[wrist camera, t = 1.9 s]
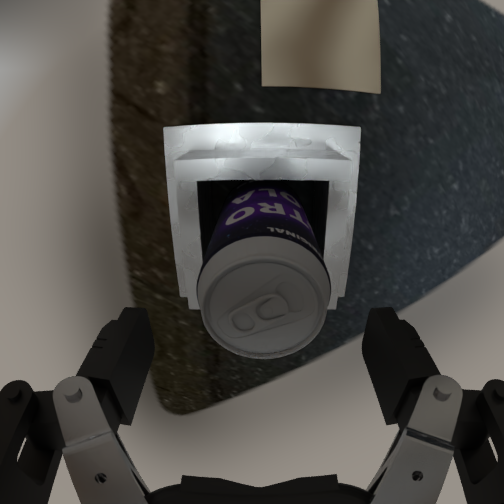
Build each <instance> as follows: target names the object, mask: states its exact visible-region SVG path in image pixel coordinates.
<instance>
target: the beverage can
mask: <svg viewBox="0 0 504 504" xmlns="http://www.w3.org/2000/svg"><path fill="white" fill-rule="evenodd" d="M196 294H197V300H198V304H199V307H200V309H201V315H202V319H203V322H204V325H205V327H206V329H207V331H208V332H209V334H210V335H211V336H212V337H213V338H214V340H215V341H216V342H218V343H219V344H220V345H221V346H223V347H224V348H226V349H227V350H229V351H231V352H233V353H236V354H238V355H241V356H245V357H249V358H255V359H271V358H278V357H283V356H286V355H289V354H292V353H294V352H296V351H298V350H300V349H301V348H303V347H305V346H306V345H307V344H308V343H310V342H311V341H312V340H313V339H314V338H315V337H316V335H317V334H318V333H319V331H320V330H321V328H322V326H323V324H324V321H325V318H326V313H327V307H328V305H329V301H330V296H331V281H330V276H329V273H328V270H327V268H326V265H325V262H324V260H323V257H322V254H321V252H320V249H319V246H318V244H317V241H316V239H315V236H314V234H313V231H312V229H311V226H310V224H309V221H308V219H307V216H306V214H305V211H304V209H303V206H302V204H301V201H300V199H299V197H298V196H297V194H296V193H295V192H294V191H293V190H292V189H291V188H290V187H289V186H288V185H286V184H284V183H283V182H281V181H278V180H247V181H245V182H243V183H241V184H239V185H238V186H236V187H235V188H234V189H233V190H232V191H231V192H230V194H229V195H228V196H227V198H226V200H225V202H224V205H223V207H222V210H221V213H220V216H219V218H218V221H217V224H216V227H215V229H214V232H213V235H212V238H211V241H210V243H209V246H208V249H207V252H206V255H205V258H204V261H203V263H202V266H201V269H200V272H199V275H198V279H197V285H196Z"/></svg>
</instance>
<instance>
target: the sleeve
mask: <svg viewBox="0 0 504 504" xmlns="http://www.w3.org/2000/svg"><path fill="white" fill-rule="evenodd" d="M163 132H164V149H165V163H166V176H167V188H168V199H169V209H170V219H171V228H172V237H173V245H174V254H175V261H176V269H177V276H178V284H179V291H180V297H188V303H189V309H200V307H199V304H198V300H197V294H196V285H197V279H198V275H199V272H200V269H201V266H202V263H203V261H204V258H205V255H206V252H207V249H208V246H209V243H210V241H211V238H212V235H213V232H214V229H213V212H212V193H211V180H314V194H313V214H312V231H313V234H314V236H315V239H316V241H317V244H318V246H319V249H320V252H321V254H322V257H323V260H324V262H325V265H326V268H327V270H328V273H329V276H330V281H331V296H330V301H329V305H328V307H327V309H336V305H337V298H338V297H344V295H345V288H346V282H347V275H348V268H349V260H350V253H351V245H352V236H353V227H354V218H355V208H356V197H357V185H358V172H359V156H360V137H361V127H357V126H346V125H331V124H313V123H278V122H249V123H214V124H195V125H181V126H169V127H164V128H163Z"/></svg>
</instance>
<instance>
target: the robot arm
mask: <svg viewBox="0 0 504 504" xmlns="http://www.w3.org/2000/svg"><path fill="white" fill-rule="evenodd" d="M154 349H155V346H154V339H153V335H152V330H151V326H150V322H149V317H148V313H147V310H146V309H145V308H132V307H125V308H124V309H123V311H122V313H121V314H120V316H119V318H118V320H111V321H110V322H109V323H108V324H107V325H105V326H104V327H103V328H102V330H101V331H100V333H99V335H98V336H97V340H95V342H94V343H93V346H92V348H91V349H90V350H89V352H88V354H87V356H86V358H85V360H84V361H83V363H82V365H81V367H80V369H79V371H78V373H77V375H76V376H73V377H68V378H66V379H64V380H62V381H61V382H60V383H58V385H57V386H56V387H55V389H54V390H52V391H38V392H34V391H33V390H32V388H31V386H30V385H29V384H28V383H27V382H25V381H22V380H16V381H12V382H10V383H8V384H7V385H5V386H4V387H3V389H2V390H1V391H0V504H48V501H49V497H50V493H51V490H52V486H53V483H54V479H55V476H56V473H57V470H58V467H59V463H60V460H61V457H62V454H63V456H64V459H65V462H66V465H67V468H68V471H69V474H70V476H71V479H72V482H73V485H74V487H75V490H76V492H77V495H78V497H79V500H80V502H81V504H436V502H437V499H438V497H439V494H440V491H441V489H442V486H443V483H444V480H445V478H446V475H447V472H448V469H449V466H450V463H451V460H452V457H454V460H455V463H456V466H457V469H458V473H459V476H460V480H461V483H462V486H463V490H464V494H465V497H466V501H467V504H504V381H502V380H498V379H494V380H490V381H488V382H487V383H486V384H485V386H484V387H483V389H482V390H481V391H479V390H464V389H461V387H460V385H459V384H458V383H457V382H456V381H455V380H454V379H452V378H450V377H448V376H444V375H441V374H440V372H439V370H438V368H437V367H436V365H435V363H434V361H433V359H432V358H431V356H430V354H429V352H428V350H427V349H426V347H424V343H423V342H422V340H420V337H419V335H418V333H417V332H416V330H415V328H414V327H413V326H411V325H410V324H409V323H408V322H406V321H405V320H399V318H398V316H397V315H396V313H395V311H394V309H393V308H392V307H383V308H372V309H371V310H370V312H369V316H368V320H367V324H366V329H365V333H364V337H363V341H362V354H363V358H364V361H365V364H366V366H367V369H368V372H369V375H370V378H371V380H372V383H373V386H374V389H375V392H376V395H377V398H378V401H379V404H380V407H381V410H382V413H383V416H384V419H385V422H386V425H391V424H397V423H398V426H399V431H398V432H397V434H396V436H395V439H394V441H393V443H392V445H391V447H390V449H389V451H388V453H387V455H386V457H385V459H384V461H383V463H382V464H381V466H380V468H379V470H378V472H377V473H376V475H375V477H374V478H373V480H372V482H371V483H370V484H369V486H368V488H367V489H366V490H364V489H361V488H359V487H355V486H352V485H348V484H343V483H338V480H337V474H333V475H325V476H314V477H301V478H296V479H293V480H289V481H286V482H282V483H278V484H274V485H270V486H265V487H254V486H249V485H245V484H240V483H236V482H232V481H228V480H225V479H221V478H208V477H196V476H185V475H182V479H181V484H176V485H171V486H167V487H164V488H160V489H158V490H155V491H153V492H150V490H149V489H148V487H147V486H146V484H145V483H144V481H143V479H142V478H141V476H140V475H139V473H138V471H137V469H136V468H135V466H134V464H133V462H132V460H131V458H130V456H129V454H128V453H127V451H126V449H125V447H124V445H123V443H122V441H121V439H120V437H119V435H118V433H117V431H118V428H119V425H120V424H124V425H130V426H131V423H132V420H133V417H134V414H135V411H136V407H137V404H138V401H139V398H140V395H141V392H142V389H143V386H144V383H145V380H146V377H147V374H148V371H149V368H150V365H151V362H152V359H153V356H154ZM489 437H491V439H492V442H493V444H494V447H495V449H496V452H497V455H498V462H497V461H496V458H495V456H494V453H493V450H492V448H491V445H490V443H489V440H488V438H489ZM24 438H26V442H25V445H24V447H23V449H22V452H21V455H20V457H19V459H18V462H17V456H18V453H19V451H20V448H21V446H22V443H23V441H24Z"/></svg>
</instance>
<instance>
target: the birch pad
mask: <svg viewBox="0 0 504 504" xmlns="http://www.w3.org/2000/svg"><path fill="white" fill-rule="evenodd" d="M261 53H262V87H304V88H321V89H335V90H346V91H356V92H365V93H373V94H381V64H380V33H379V15H378V2H377V0H261Z"/></svg>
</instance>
